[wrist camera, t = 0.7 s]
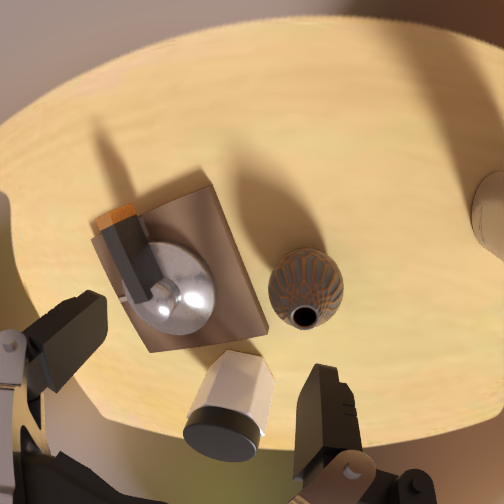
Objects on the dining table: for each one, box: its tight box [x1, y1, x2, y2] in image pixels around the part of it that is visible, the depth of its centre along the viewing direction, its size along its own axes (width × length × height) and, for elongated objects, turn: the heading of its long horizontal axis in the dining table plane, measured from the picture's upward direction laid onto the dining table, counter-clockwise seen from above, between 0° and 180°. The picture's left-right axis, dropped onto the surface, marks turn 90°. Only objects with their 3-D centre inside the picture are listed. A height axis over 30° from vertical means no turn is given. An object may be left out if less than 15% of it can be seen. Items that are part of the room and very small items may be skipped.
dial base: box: [91, 185, 269, 353], centre depth 32 cm, size 17×17×2 cm
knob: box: [95, 203, 217, 335], centre depth 28 cm, size 16×11×6 cm
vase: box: [268, 248, 344, 330], centre depth 25 cm, size 7×7×9 cm
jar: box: [183, 350, 275, 462], centre depth 30 cm, size 9×8×12 cm
